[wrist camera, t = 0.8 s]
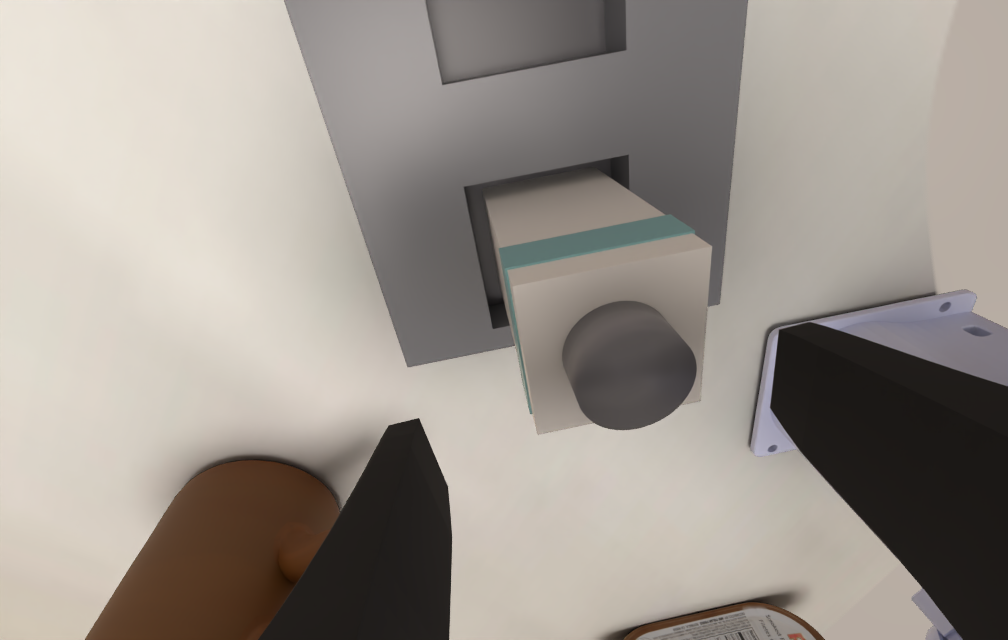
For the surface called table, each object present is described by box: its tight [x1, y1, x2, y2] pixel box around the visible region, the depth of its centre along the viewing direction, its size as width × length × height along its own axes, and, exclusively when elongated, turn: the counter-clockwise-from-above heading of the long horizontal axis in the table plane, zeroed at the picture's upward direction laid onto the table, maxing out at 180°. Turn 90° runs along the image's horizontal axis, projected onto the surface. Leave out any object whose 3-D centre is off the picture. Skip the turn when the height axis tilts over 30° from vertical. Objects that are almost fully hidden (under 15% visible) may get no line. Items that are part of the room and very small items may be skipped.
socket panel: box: [284, 0, 748, 367], centre depth 14 cm, size 12×15×2 cm
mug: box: [85, 460, 340, 640], centre depth 18 cm, size 12×8×9 cm, turn 123°
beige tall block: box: [482, 167, 712, 435], centre depth 13 cm, size 4×4×9 cm
